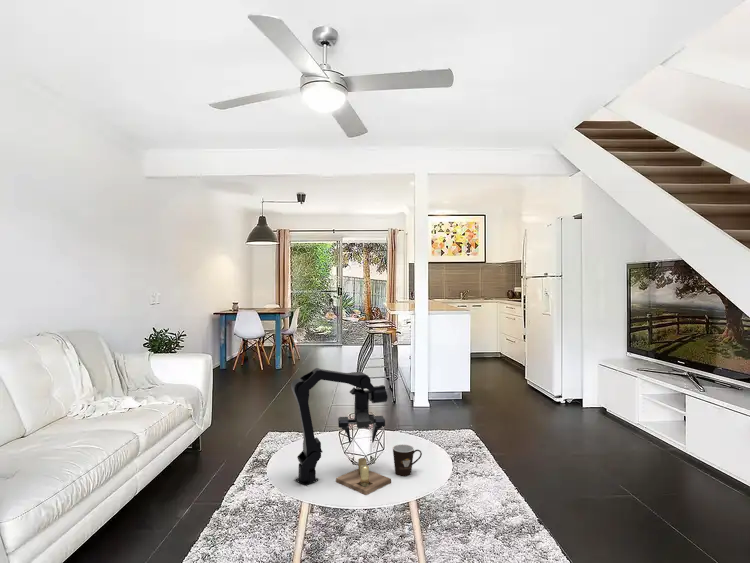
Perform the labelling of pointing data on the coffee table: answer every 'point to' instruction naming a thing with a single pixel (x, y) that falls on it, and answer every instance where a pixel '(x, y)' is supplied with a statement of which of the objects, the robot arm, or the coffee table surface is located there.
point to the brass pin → (364, 475)
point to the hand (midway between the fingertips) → (361, 442)
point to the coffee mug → (404, 459)
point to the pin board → (354, 479)
